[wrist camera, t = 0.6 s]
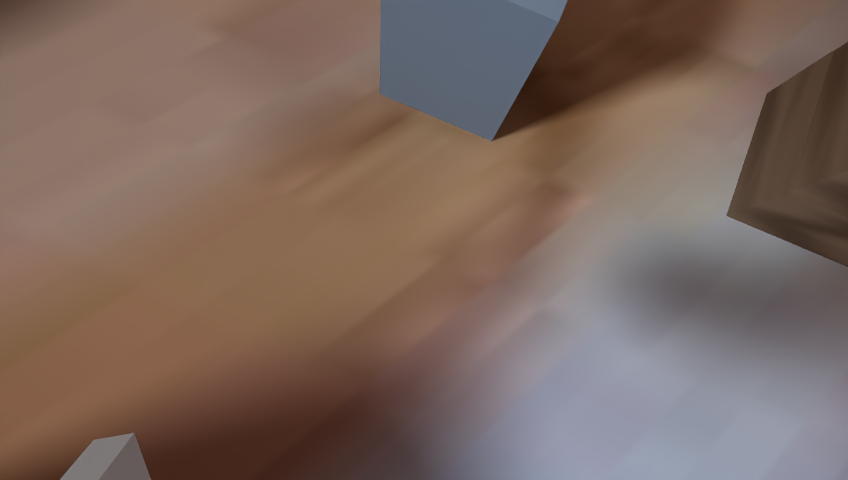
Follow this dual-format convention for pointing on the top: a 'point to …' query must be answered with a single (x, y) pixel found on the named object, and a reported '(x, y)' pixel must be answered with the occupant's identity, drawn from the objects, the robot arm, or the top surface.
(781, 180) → the tower base
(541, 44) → the blue block
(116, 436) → the robot arm
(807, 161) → the tower top
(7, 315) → the top surface
